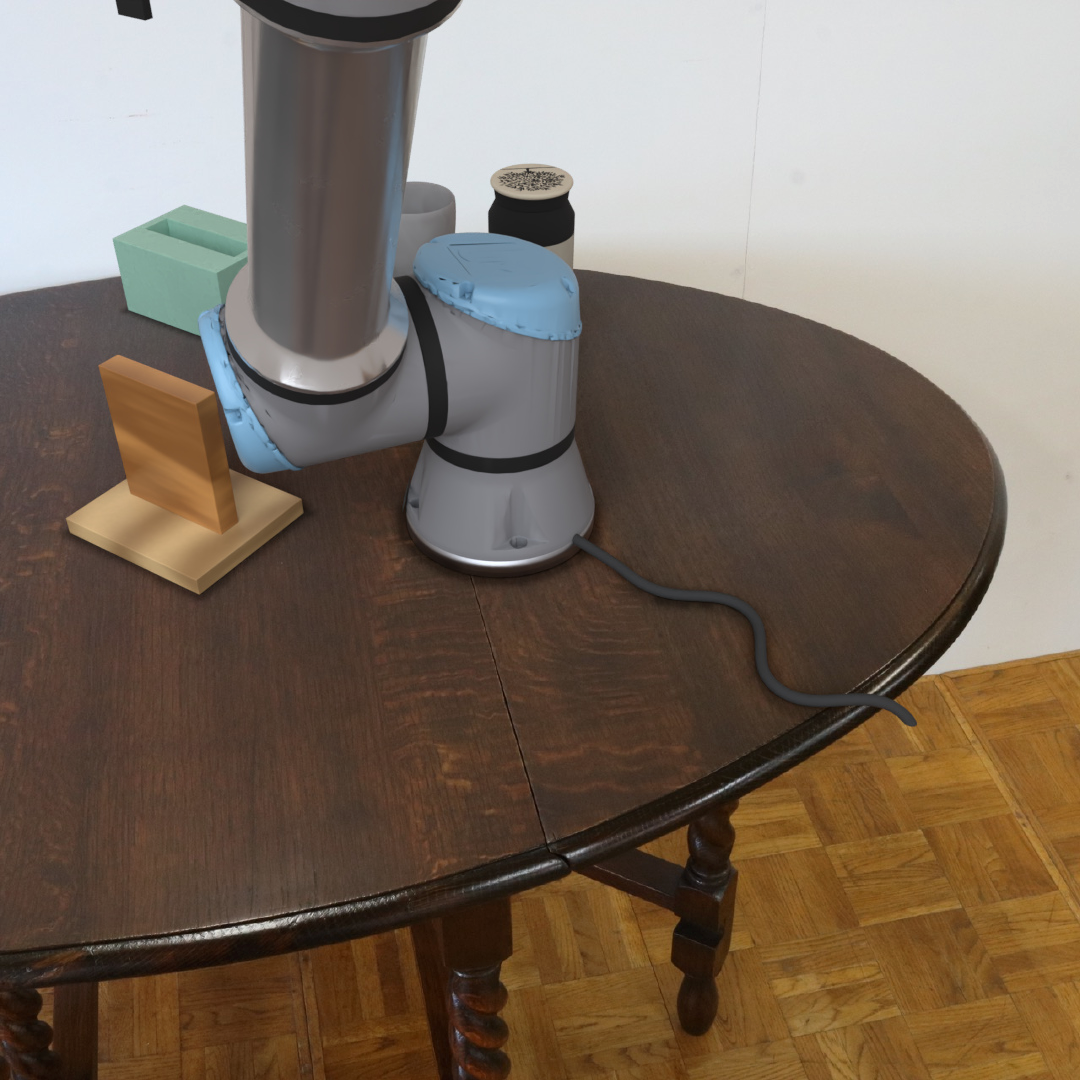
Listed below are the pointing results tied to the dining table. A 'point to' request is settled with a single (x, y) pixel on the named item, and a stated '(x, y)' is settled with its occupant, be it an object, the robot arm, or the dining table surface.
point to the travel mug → (534, 207)
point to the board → (184, 531)
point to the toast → (170, 442)
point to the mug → (422, 221)
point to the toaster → (180, 264)
